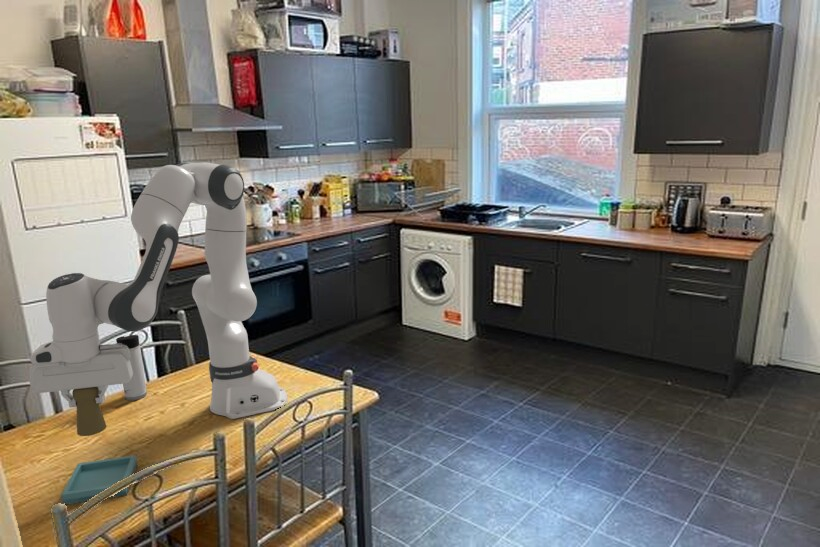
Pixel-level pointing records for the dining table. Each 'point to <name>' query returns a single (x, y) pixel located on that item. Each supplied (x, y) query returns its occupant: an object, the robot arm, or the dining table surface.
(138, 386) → the travel mug
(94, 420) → the brown tapered cylinder
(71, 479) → the tray
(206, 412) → the dining table surface
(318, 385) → the dining table surface
